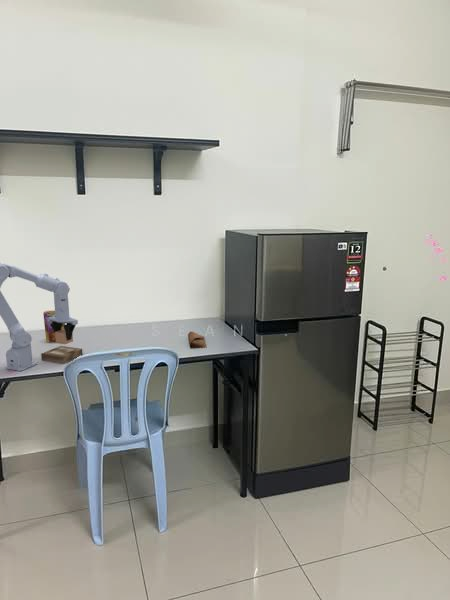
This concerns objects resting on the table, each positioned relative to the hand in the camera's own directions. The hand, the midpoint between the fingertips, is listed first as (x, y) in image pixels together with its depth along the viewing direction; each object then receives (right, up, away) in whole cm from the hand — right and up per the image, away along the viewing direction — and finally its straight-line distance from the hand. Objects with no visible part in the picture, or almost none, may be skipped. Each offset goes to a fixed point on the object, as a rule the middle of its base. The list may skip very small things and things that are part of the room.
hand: (64, 338), depth 194 cm
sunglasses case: (+57, -4, +22) cm, 61 cm away
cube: (0, -1, 0) cm, 2 cm away
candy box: (-13, -3, +25) cm, 28 cm away
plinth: (-1, -8, +1) cm, 8 cm away
